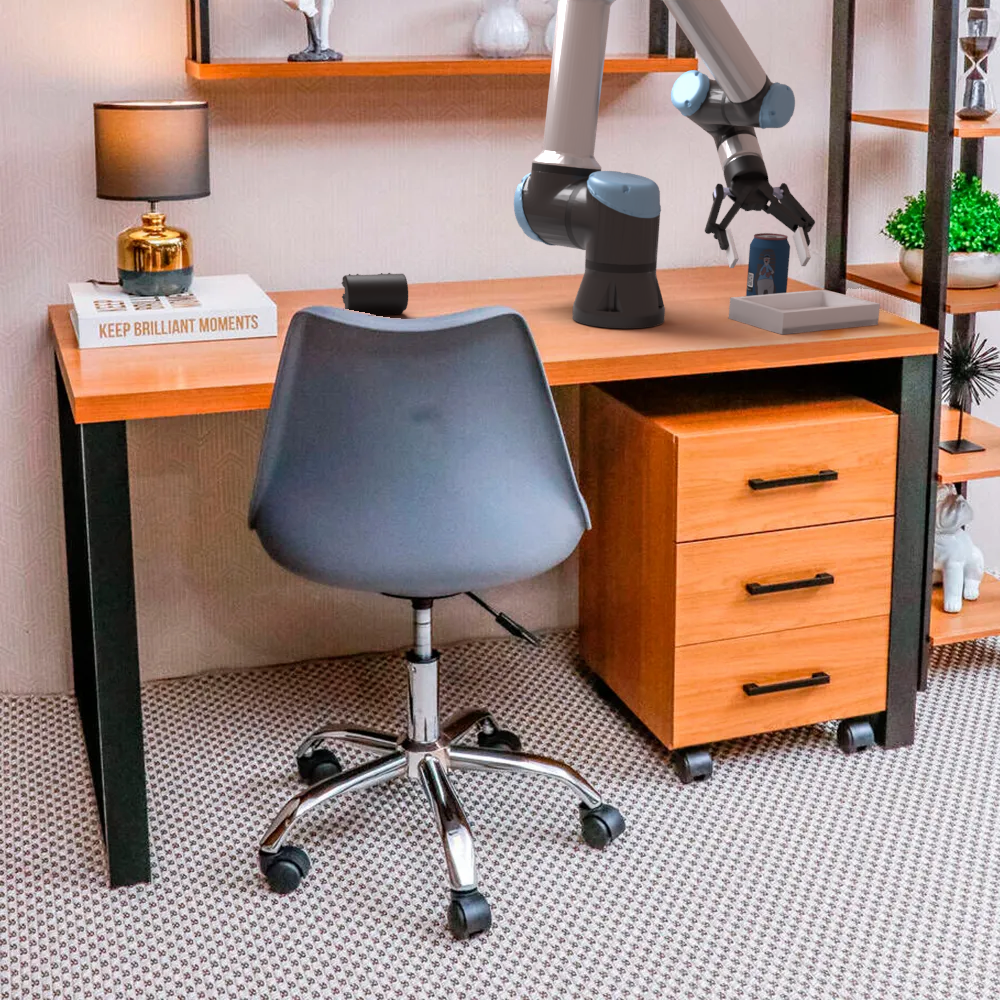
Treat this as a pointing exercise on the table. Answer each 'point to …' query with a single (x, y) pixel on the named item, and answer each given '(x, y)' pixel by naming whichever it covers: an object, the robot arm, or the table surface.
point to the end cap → (376, 293)
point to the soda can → (768, 264)
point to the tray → (803, 311)
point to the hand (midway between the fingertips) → (770, 262)
